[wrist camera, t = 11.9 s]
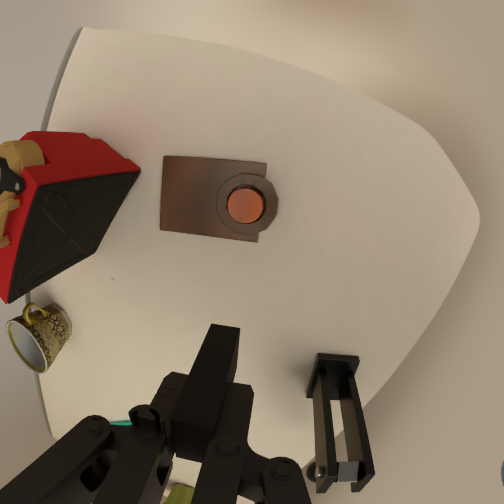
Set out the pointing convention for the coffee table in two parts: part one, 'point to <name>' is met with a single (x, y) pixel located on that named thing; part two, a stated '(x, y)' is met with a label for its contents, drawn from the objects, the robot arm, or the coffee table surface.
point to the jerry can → (55, 204)
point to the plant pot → (180, 495)
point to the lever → (344, 470)
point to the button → (245, 205)
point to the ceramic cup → (39, 335)
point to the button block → (212, 196)
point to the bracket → (344, 389)
